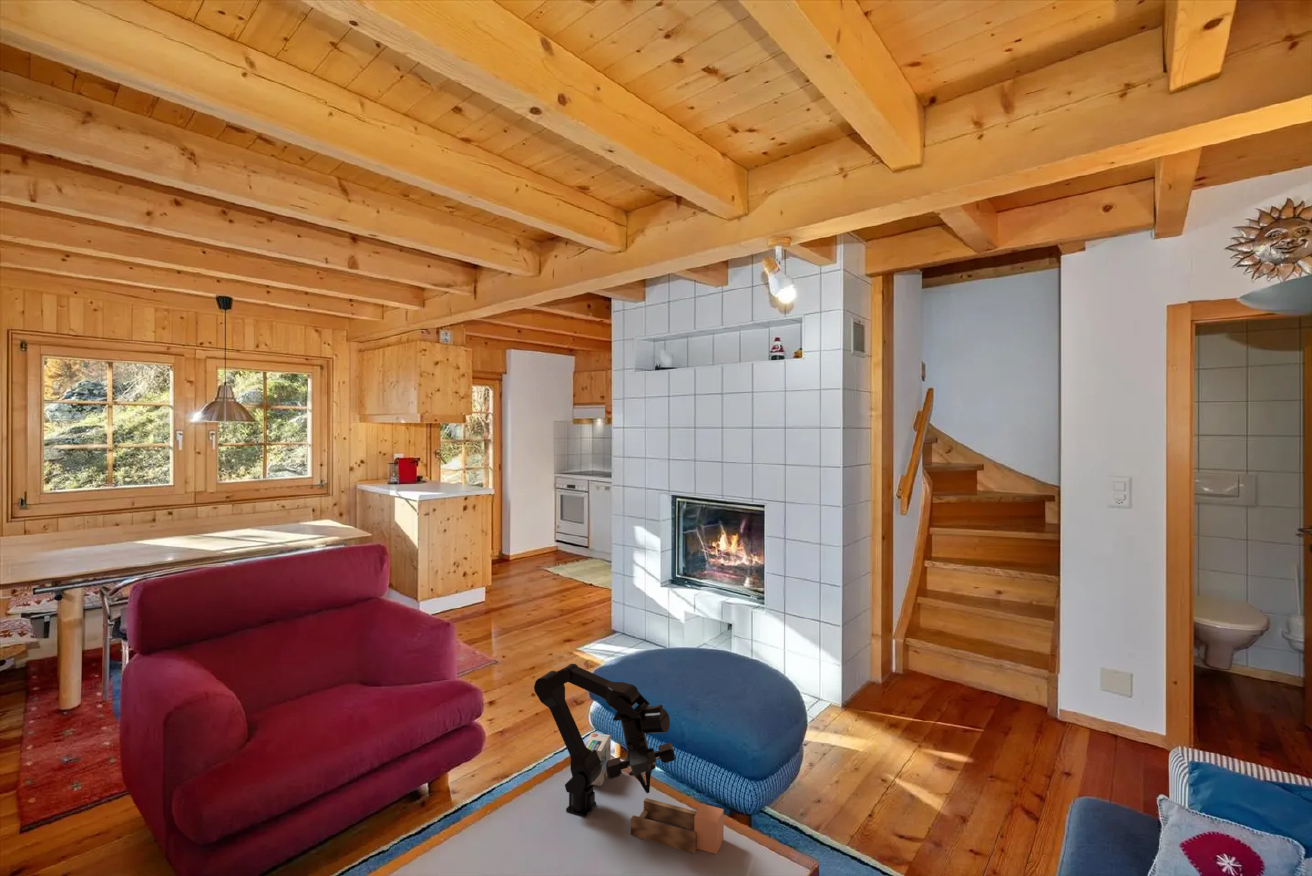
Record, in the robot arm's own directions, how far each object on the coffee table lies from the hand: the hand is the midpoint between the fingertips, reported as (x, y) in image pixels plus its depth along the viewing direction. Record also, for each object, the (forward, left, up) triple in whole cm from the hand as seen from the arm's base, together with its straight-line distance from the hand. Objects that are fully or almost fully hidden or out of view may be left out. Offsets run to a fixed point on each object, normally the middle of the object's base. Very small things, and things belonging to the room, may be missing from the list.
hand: (647, 792), depth 163 cm
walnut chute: (+6, 0, -9) cm, 11 cm away
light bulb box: (-25, +16, -10) cm, 31 cm away
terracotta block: (+17, 0, -9) cm, 20 cm away
